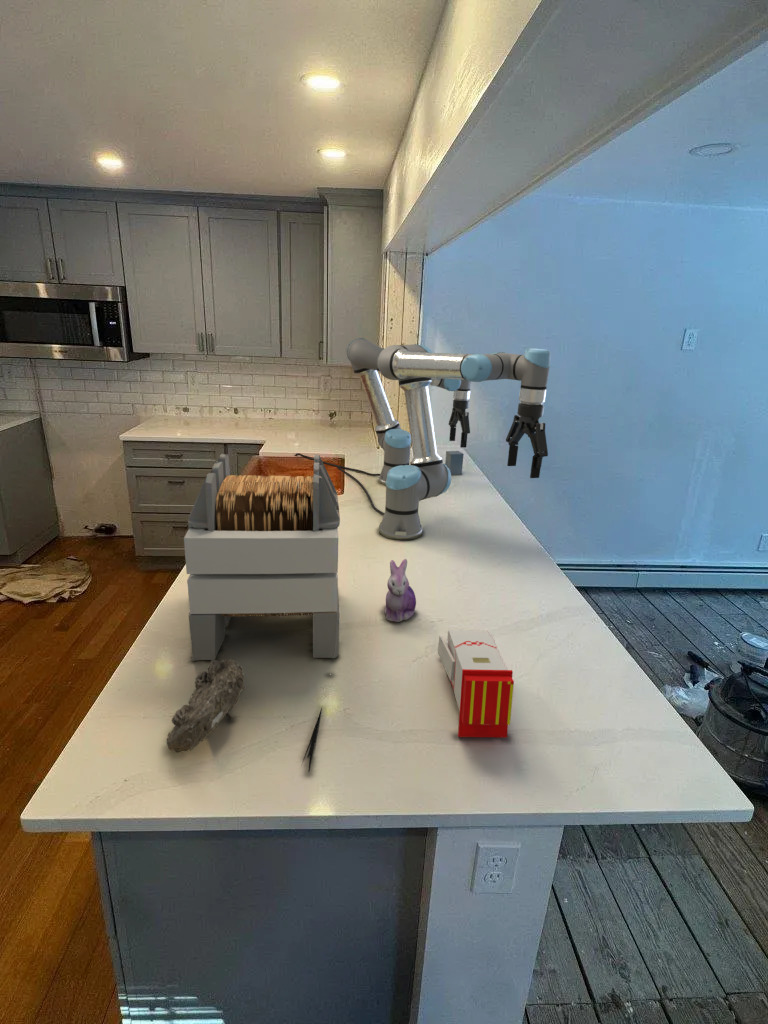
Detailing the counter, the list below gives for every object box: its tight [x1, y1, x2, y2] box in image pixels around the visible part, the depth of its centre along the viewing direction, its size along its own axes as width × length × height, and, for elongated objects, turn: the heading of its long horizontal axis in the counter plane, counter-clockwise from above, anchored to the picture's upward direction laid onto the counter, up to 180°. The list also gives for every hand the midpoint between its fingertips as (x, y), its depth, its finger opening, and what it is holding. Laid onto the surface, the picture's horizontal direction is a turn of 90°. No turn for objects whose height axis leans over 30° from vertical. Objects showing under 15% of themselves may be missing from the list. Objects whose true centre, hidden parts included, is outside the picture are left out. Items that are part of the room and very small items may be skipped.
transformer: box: [183, 453, 341, 662], centre depth 134 cm, size 34×33×41 cm
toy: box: [437, 628, 515, 738], centre depth 117 cm, size 12×13×30 cm
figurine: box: [384, 558, 417, 623], centre depth 145 cm, size 9×10×15 cm
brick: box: [444, 450, 465, 476], centre depth 276 cm, size 6×6×10 cm
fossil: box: [166, 658, 245, 754], centre depth 106 cm, size 22×10×15 cm
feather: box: [301, 673, 332, 771], centre depth 108 cm, size 2×28×2 cm
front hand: (522, 471), depth 176 cm, fingers open, 13 cm apart
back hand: (457, 444), depth 272 cm, fingers open, 13 cm apart
